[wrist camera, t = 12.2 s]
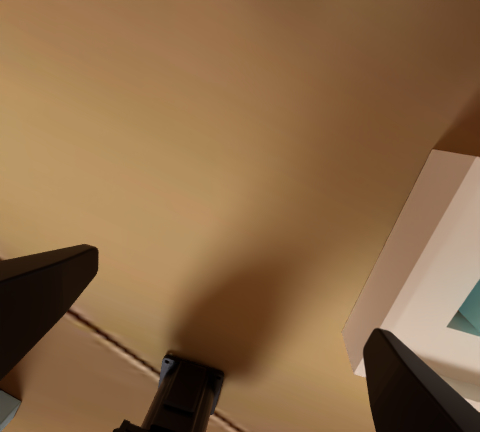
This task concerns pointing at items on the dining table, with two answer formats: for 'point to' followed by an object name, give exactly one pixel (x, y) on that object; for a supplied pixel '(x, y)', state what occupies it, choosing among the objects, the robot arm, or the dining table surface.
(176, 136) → the dining table surface
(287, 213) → the dining table surface
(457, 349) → the box
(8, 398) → the gum box
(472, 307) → the tall teal block
